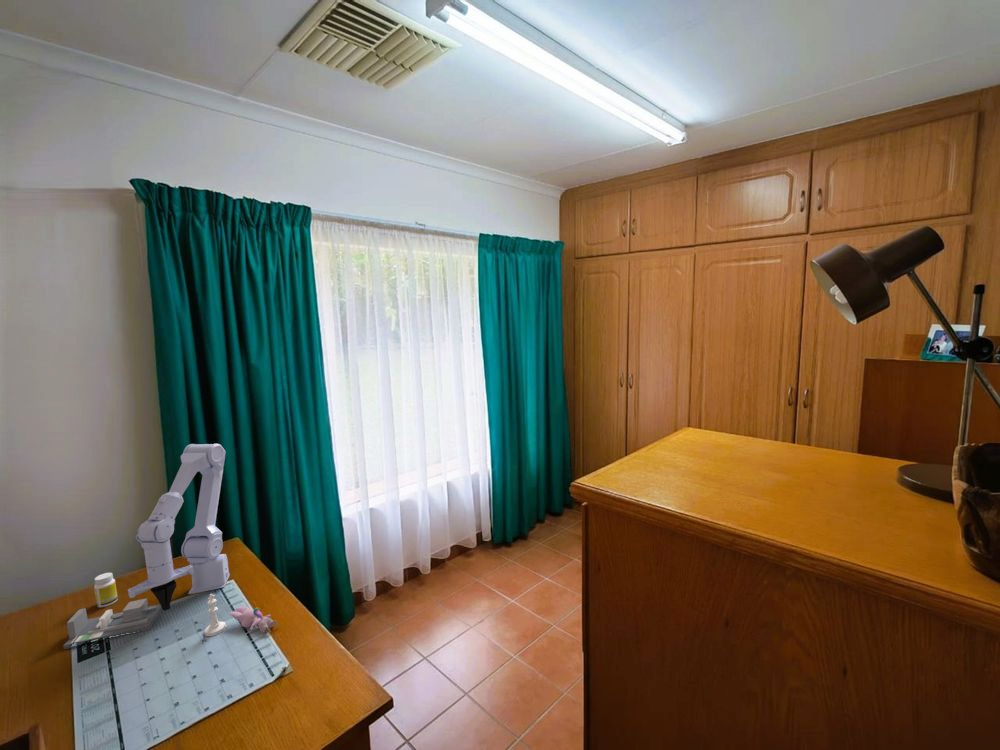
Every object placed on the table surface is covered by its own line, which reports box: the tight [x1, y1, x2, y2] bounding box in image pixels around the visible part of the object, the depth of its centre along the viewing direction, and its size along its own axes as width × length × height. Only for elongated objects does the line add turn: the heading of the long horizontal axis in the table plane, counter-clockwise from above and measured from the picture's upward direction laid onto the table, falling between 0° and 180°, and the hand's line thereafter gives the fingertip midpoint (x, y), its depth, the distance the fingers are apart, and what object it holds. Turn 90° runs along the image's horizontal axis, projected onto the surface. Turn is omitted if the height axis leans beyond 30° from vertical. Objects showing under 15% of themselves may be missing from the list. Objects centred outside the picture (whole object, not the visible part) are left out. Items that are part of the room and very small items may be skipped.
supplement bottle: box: [93, 572, 119, 608], centre depth 133 cm, size 5×5×8 cm
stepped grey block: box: [110, 598, 149, 624], centre depth 122 cm, size 8×4×4 cm, turn 110°
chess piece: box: [204, 593, 227, 637], centre depth 118 cm, size 5×5×10 cm
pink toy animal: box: [229, 605, 280, 635], centre depth 119 cm, size 6×6×15 cm
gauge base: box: [62, 603, 163, 650], centre depth 121 cm, size 18×11×6 cm, turn 110°
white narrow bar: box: [96, 608, 114, 629], centre depth 119 cm, size 1×7×3 cm, turn 19°
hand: (165, 608), depth 125 cm, fingers closed
